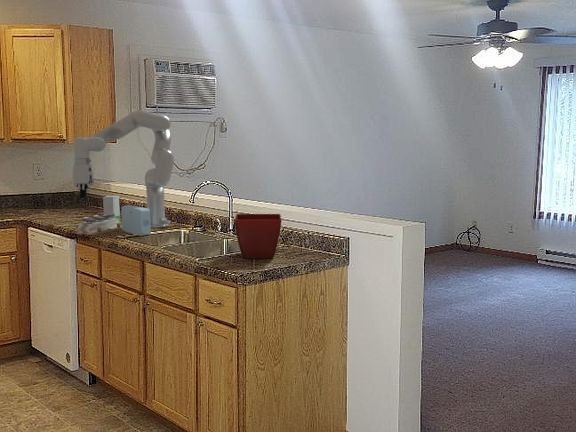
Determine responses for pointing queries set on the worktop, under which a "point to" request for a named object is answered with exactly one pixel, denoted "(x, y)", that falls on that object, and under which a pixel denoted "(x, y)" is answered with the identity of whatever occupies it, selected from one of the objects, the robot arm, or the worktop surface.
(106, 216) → the block
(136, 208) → the light blue rectangular block
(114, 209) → the skincare box
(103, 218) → the rocker
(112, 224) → the switch unit
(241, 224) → the plant pot
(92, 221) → the block
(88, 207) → the worktop surface
